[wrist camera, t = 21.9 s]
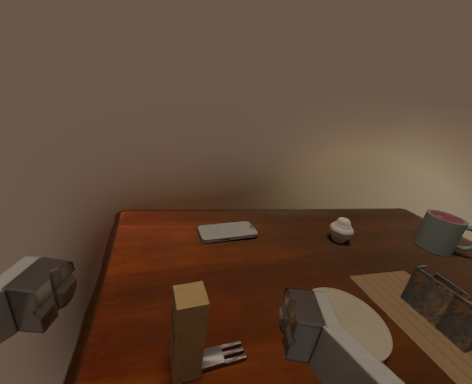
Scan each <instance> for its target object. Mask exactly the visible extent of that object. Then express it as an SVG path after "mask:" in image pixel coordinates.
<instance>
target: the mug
mask: <svg viewBox="0 0 472 384" xmlns="http://www.w3.org/2000/svg"><path fill="white" fill-rule="evenodd" d="M468 224H469V223H468V222H467V221H465V220H463V219H462V218H459V217H457V216H455V215H452V214H449V213H446V212H442V211H438V210H427V212H426V214H425V217H424V219H423V221H422V223H421V225H420V227H419V229H418V231H417V233H416V235H415V238H414V240H413V241H414V243H415V244H416V245H417V246H419V247H420V248H422V249H424V250H426V251H428V252H430V253H433V254H435V255H439V256H444V257H449V256H451V255H452V253H453V251H454V249H458V250H462V251H470V250H472V245H471V246H467V247H462V246H459V245H457V244H458V242H459V241H460V239H461V237H462V235H463V233H464V231H465V230H469V231H472V227H471V226H468Z"/></svg>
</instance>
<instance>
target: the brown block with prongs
mask: <svg viewBox="0 0 472 384" xmlns="http://www.w3.org/2000/svg"><path fill="white" fill-rule="evenodd" d="M209 306H210V303H209V299H208V296H207V293H206V290H205V287H204V284H203V281H200V282H193V283H187V284H180V285H174V286H173V293H172V313H171V334H170V354H169V360H170V370H171V379H172V384H182V383H185V382H188V381H191V380H195V379H198V378H201V373H203V372H206V371H209V370H213V369H216V368H219V367H223V366H228V365H231V364H234V363H238V362H241V361H244V360H246V359H247V356H246V354H243V355H239V356H236V357H232V358H229V359H226V360H225V358H227V357H230V356H234V355H237V354H241V353H243V352H244V349H243V347H240V348H236V349H233V350H229V351H225V352H222V351H224V350H228V349H231V348H235V347H238V346H241V341H240V340H238V341H235V342H231V343H227V344H223V345H218V346H214V347H210V348H206V349H204V347H205V339H206V331H207V323H208V314H209Z"/></svg>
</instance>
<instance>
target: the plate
mask: <svg viewBox="0 0 472 384" xmlns="http://www.w3.org/2000/svg"><path fill="white" fill-rule="evenodd" d="M312 290H315V291H325V292H326V293H327V295H328V297H329V300H330V302H331V304H332V306H333V309H334V311H335V313H336V315H337V317H338V320H339V322H340V324H341V326H342V329H343V330H347V331H348V332H350V333H351V334H352V335H353V336H354V337H355V338H356V339H357V340H358V341H359V342H360V343H362V344H363V345H364V346H365V347H366V348H367V349H368V350H369V351H370V352H371V353H372V354H373V355H375V356H376V357H377V358H378V359H379V360H380V361H381V362H382V363H383V364H384V363H385V362H386V361H387V359H388V358H389V356H390V354H391V352H392V347H393V342H392V337H391V334H390V331H389V329H388V327H387V326H386V324H385V323H384V321H383V320H382V319H381V317H380V316H379V315H378V314H377V313H376V312H375V311H374V310H373V309H372V308H371V307H370V306H368V305H367V304H366V303H364V302H363V301H361V300H360V299H358V298H357V297H355V296H353V295H351V294H349V293H347V292H344V291H341V290H338V289H334V288H326V287H321V288H315V289H312Z"/></svg>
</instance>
